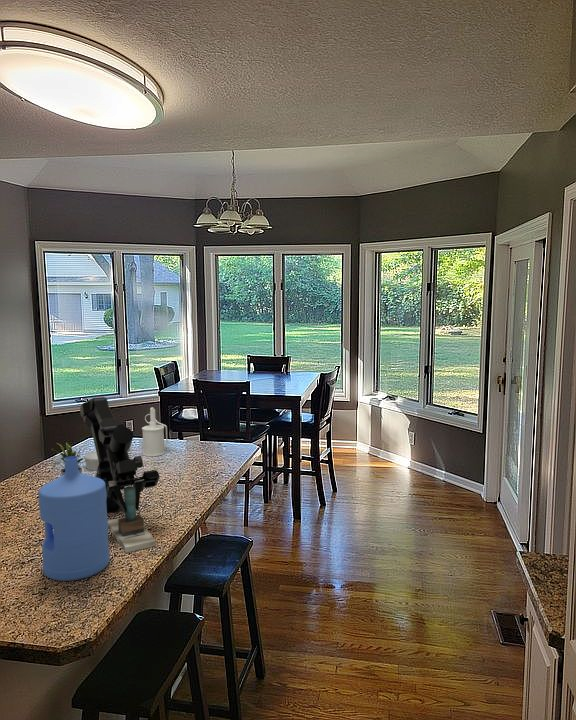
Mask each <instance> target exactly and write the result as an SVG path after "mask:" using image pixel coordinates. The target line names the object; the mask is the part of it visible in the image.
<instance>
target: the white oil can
mask: <svg viewBox="0 0 576 720" xmlns="http://www.w3.org/2000/svg"><path fill="white" fill-rule="evenodd" d="M149 410H150V411H149V413H148V414H146V415H145V416H144V420H145V422H146V423H147V424H148V425H145V426H143V427H141V430H142V446H143V447H142V448H143V452H142V455H143V456H145V457H150V458H151V457H159V456H163V455H165V454H166V451H165V439H166V445H167V444H168V425H166V424H164V423H161V422H159V421H158V420H157V419H156V409H155V408H154V407H150V408H149ZM147 416H150V417H149V418H150V421H149V422H148V420H147V419H146V418H147Z"/></svg>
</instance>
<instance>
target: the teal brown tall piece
mask: <svg viewBox="0 0 576 720" xmlns="http://www.w3.org/2000/svg"><path fill="white" fill-rule="evenodd" d="M123 499H124V502H125V505H126V510H127V511H126V513H124V517H125V518H122V517H120V518H121V519H118V528H119V532H120V534H121V535H122V536H126V535H130V534H135V533H139V532H144V527H145V523H144V522H145V520H144V518H143V517H142V516H141V515H140V514H137V509H136V497H135V487H133V485H131V486H125V488H124V489H123Z"/></svg>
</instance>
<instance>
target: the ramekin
mask: <svg viewBox="0 0 576 720" xmlns="http://www.w3.org/2000/svg"><path fill="white" fill-rule="evenodd" d="M83 458H84V459H83V460H84V461H85V466H86V469H87V470H88V471H91V472H93V471H94V472H97V469H98V465H99V461H98V457H97V452H96V450H95V451H91V452H88V453H86V454H84V456H83ZM86 460H87V461H86Z"/></svg>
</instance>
